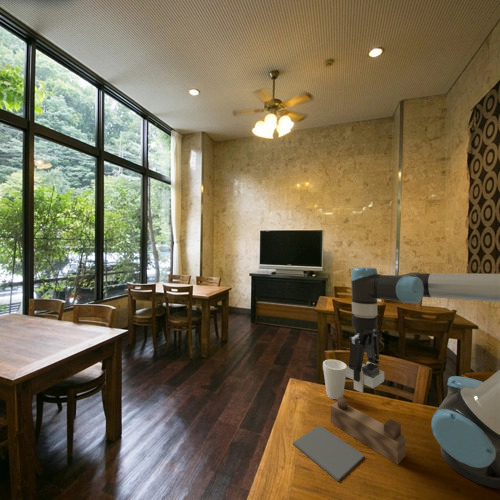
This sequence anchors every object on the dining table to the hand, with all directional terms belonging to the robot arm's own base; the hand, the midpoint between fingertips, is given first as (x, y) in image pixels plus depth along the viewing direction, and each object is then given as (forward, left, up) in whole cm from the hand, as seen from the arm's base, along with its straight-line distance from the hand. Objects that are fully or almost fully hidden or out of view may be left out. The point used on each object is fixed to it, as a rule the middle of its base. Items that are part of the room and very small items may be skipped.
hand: (364, 386), depth 81 cm
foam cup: (+20, -13, -17) cm, 29 cm away
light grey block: (0, 0, +2) cm, 2 cm away
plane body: (0, 0, -17) cm, 17 cm away
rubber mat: (+4, +14, -17) cm, 22 cm away
